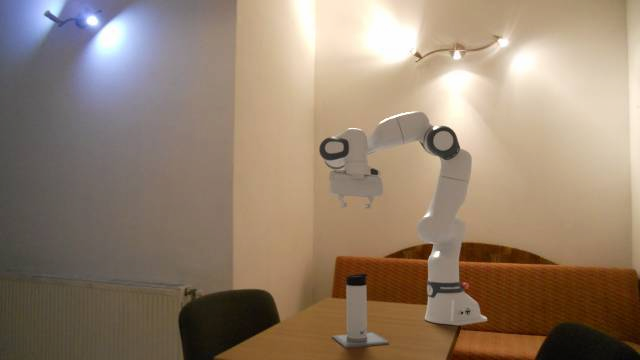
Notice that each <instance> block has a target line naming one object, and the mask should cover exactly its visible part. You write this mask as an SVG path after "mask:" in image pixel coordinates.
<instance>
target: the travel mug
mask: <svg viewBox="0 0 640 360" xmlns="http://www.w3.org/2000/svg"><path fill="white" fill-rule="evenodd" d="M367 277H368V273H362V274H361V273H359V274H358V273H357V274H351V275H347V277H346V279H345V281H346V285H345V286H346V287H345V293H346V295H345V297H346V298H345V299H346V302H345V303H346V305H345V306H346V334H347V340H348V341H350V342H364V341H366V340H367V333H368V309H367V307H368V305H367V302H368V301H367V293H368V292H367V291H368V290H367Z"/></svg>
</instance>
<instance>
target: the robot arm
mask: <svg viewBox="0 0 640 360" xmlns="http://www.w3.org/2000/svg"><path fill="white" fill-rule="evenodd" d="M413 142H419V144H420V145H421V147H422V148H423V150H424V151H425V152H426V153H428V154H430V155H431V156H434V157H438V158H439V159H440V168H439V174H438V178H437V183H436V187H435V189H434V190H435V191H434V194H433V197H432V199H431V202H430V204H429V206H428V208H427V210H426V211H425V214H423V216H422V217H421V218H420V219H419V221H417V225H416V233H417V235H418V237H419V239H420V240H422V242H425V243H428V244H432V245H433V246H432V250H431V253H430V255H429V257H428V259H427V274H428V275H427V277H428V278H427V281H426V284H427V285H426V293H427V304H426V305H427V306H426V312H425V316H424V320H425V321H427V322H430V323H434V324H441V325H442V324H443V325H452V326H466V325H472V324H477V323H485V322H487V321H488V318H487V316H485V315H483V314H481V309H480V305H479V303H478V302H477V301H476V300H475V299H473V298H472V297H471V296H470V295H469V294H467V293H466V292H465V290H466V289H469V288H470V284H469V283H468V282H462V281H460V271H459V270H460V267H459V266H460V265H459V264H460V262H459V261H460V253H461V250H462V249H461V248H462V242H463V238H464V237H465V235H466V232H467V225H466V222H465V220H464V219H463V218H461V217H460V216H458V215H457V214H458V213H459V210H460V208H461V207H462V205H464V203H465V200H466V196H467V192H468V188H469V183H470V179H471V173H472V165H473V164H472V163H473V161H472V155H471V153H470V152H469V151H467V150H465V149H464V148H461V147H460V146H461V145H460V143H459V140H458V137H457V134H456V132H455V131H454V129H452V128H451V127H449V126H446V125H435V126H434V125H432V124H431V123H430V119H429V117H428V116H427V114H425V112H423V111H419V110H417V111H411V112H405V113H400V114H397V115H394V116H391V117H389V118H386V119H384V120H382V121H380V122H379V123H378V124H377V125H376V127H375V129H374V130H373V131H372V132H371V134H370V135H368V136H367V133H366V132H365V131H364V130H363V129H360V128H355V127H354V128H353V127H351V128H350V127H349V128H347V129H345V131H343V132H342V133H340V134H337V135H334V136H331V137H330V136H329V137H326V138H325V139H324V140H322V141H321V143H320V145H319V150H318V151H319V155H320V157H321V158H322V159H323V161H324V163H325V165H326V166H327V167H328V168H330V169H331V170H332V171H330V173H329V190H328V191H329V192H328V193H329V194H330V195H331V196H338V200H339V201H340V204H341V208H342V209H346V208H347V204H348V203H347V202H345V201H344V200H345V199H344V198H345V197H361V198H362V197H363V198H367V200H368V202H367V203H365V210H371V209H372V204H373V202H374V200H375V198H381V197H382V196H383V195H384V185H383V184H384V183H383V180H382V178H381V177H380V176H381V175H382V174H381V173H382V172H381V170H379V169H377V168H374V167H372V166H371V165H369V161H368V155H371V154H374V153H376V152H379V151H383V150H387V149H392V148H396V147H399V146H402V145H406V144H410V143H413ZM343 168H344V170H340V169H343ZM464 289H465V290H464Z"/></svg>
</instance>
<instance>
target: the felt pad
mask: <svg viewBox="0 0 640 360" xmlns="http://www.w3.org/2000/svg"><path fill="white" fill-rule="evenodd" d="M331 336H332V337H331V338H332V339H333V340H334V341H336V342H337V343H338V344H339V345H341V346H342V347H343V348H344V349H350V348H351V349H352V348H359V347H370V346H372V345H373V346H381V345H389V344H390V341H388V340H386V339H385V338H384V337H382V336H380V335H379V334H377V333H375V332H373V331H370V332H367V340H366V341H364V342H350V341H348V340H347V333H346V334H336V335H331Z"/></svg>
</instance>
